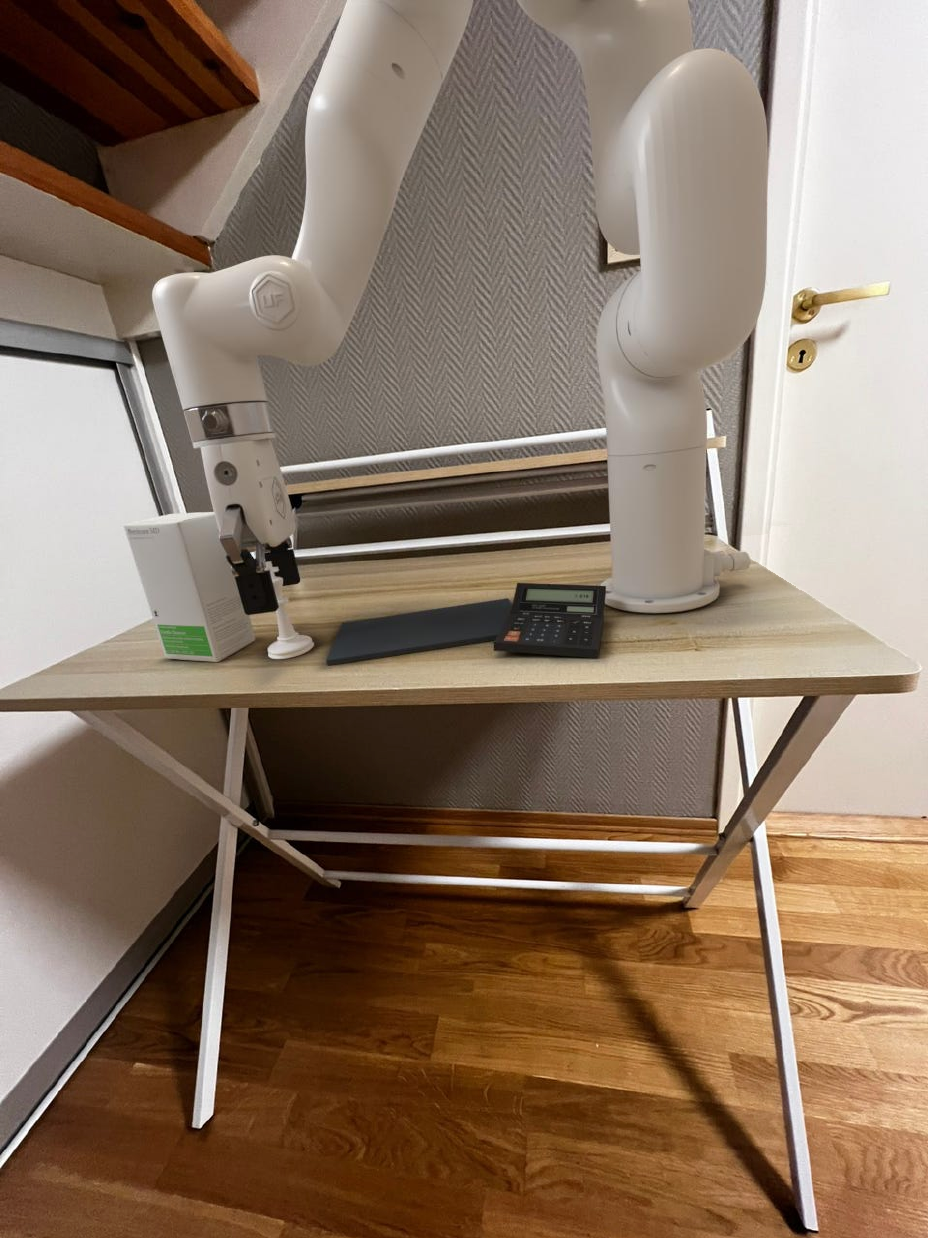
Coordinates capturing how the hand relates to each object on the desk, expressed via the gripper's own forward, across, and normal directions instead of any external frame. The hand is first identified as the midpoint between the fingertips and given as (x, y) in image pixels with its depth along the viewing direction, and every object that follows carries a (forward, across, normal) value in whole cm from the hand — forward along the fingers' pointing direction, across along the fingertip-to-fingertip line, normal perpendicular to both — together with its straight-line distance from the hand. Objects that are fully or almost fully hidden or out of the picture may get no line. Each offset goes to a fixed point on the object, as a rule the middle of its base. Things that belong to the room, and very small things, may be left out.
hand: (275, 597), depth 57 cm
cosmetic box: (+6, +4, +10) cm, 12 cm away
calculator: (+6, -6, -28) cm, 29 cm away
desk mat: (+6, 0, -15) cm, 16 cm away
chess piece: (+6, 0, 0) cm, 6 cm away
